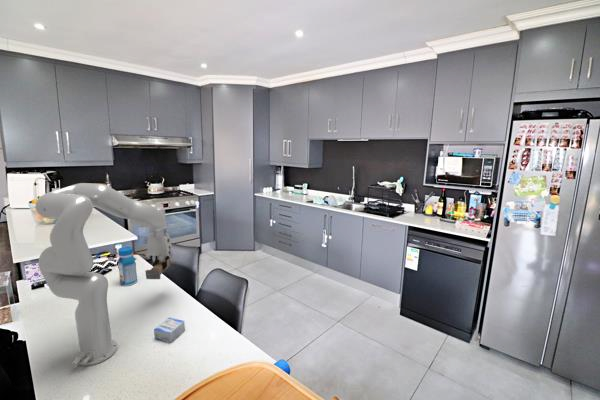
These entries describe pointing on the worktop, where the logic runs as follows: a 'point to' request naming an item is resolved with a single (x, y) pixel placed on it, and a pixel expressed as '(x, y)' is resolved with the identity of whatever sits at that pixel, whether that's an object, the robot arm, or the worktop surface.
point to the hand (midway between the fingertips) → (160, 268)
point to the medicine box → (169, 329)
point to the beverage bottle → (127, 266)
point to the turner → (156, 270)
